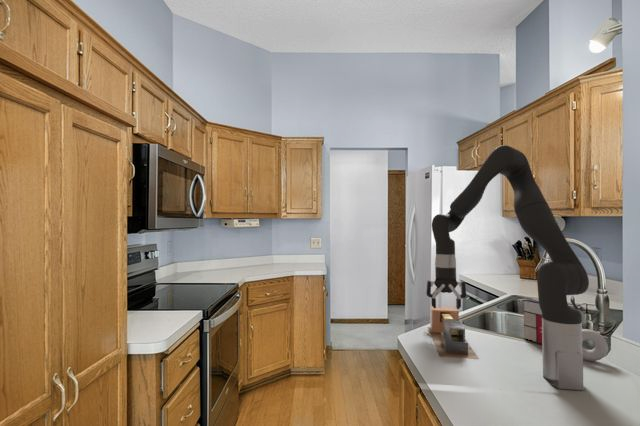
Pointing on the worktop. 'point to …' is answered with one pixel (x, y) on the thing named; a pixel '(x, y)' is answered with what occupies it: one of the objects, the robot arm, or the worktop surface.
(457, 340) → the sleeve
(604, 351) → the donut
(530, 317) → the grey and red box
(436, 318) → the socket block
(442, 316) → the yellow square peg
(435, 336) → the base board
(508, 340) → the worktop surface
